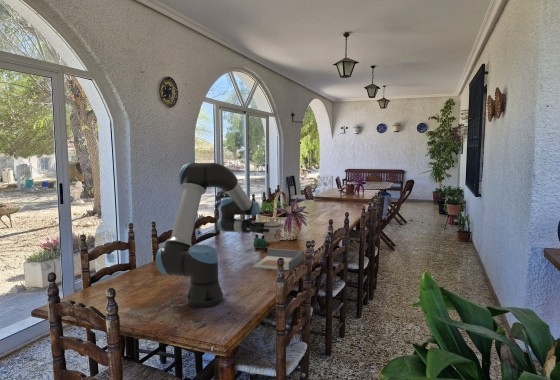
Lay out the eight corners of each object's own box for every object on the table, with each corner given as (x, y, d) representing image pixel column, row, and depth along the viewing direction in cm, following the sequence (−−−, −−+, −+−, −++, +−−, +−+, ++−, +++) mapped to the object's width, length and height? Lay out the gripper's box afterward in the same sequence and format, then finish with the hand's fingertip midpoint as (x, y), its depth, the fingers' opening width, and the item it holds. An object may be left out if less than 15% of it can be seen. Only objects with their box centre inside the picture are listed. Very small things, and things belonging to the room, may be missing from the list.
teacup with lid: (277, 242, 202) (276, 221, 200) (261, 241, 205) (261, 220, 203) (285, 237, 213) (284, 217, 211) (270, 236, 216) (269, 216, 214)
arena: (291, 271, 198) (291, 262, 198) (253, 267, 206) (252, 258, 205) (303, 259, 219) (303, 250, 218) (268, 256, 226) (268, 248, 226)
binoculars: (271, 234, 241) (264, 235, 233) (271, 250, 242) (263, 253, 233) (259, 232, 246) (251, 234, 237) (259, 248, 246) (251, 251, 237)
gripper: (252, 227, 226) (287, 230, 218) (233, 237, 204) (271, 240, 196) (252, 215, 225) (286, 217, 217) (233, 223, 203) (271, 225, 195)
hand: (279, 228), depth 207 cm, fingers closed on teacup with lid, 12 cm apart
